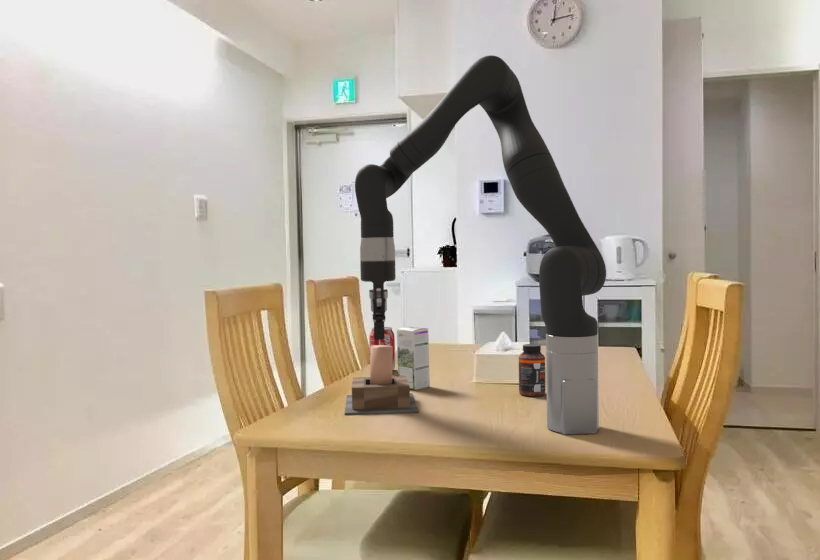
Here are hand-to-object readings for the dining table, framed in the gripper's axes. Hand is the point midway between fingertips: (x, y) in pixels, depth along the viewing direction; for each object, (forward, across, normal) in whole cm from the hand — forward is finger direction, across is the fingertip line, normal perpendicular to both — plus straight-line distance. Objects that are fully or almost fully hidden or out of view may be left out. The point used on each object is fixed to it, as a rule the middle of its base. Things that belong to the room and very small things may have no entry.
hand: (379, 339), depth 151 cm
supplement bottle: (+14, +5, -34) cm, 38 cm away
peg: (+14, 0, 0) cm, 14 cm away
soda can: (+14, +43, -1) cm, 45 cm away
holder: (+14, 0, 0) cm, 14 cm away
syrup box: (+14, +18, -8) cm, 24 cm away
